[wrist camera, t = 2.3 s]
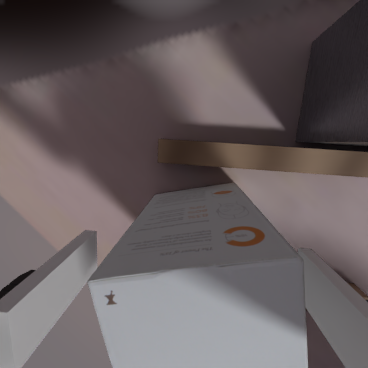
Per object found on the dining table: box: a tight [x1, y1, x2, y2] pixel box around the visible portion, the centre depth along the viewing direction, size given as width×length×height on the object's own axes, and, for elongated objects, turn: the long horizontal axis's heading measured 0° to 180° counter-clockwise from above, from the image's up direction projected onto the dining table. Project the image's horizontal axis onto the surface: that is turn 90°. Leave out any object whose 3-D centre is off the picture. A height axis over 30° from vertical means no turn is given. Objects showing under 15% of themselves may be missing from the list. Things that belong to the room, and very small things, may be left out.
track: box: [158, 139, 368, 310], centre depth 19 cm, size 20×15×2 cm
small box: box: [87, 183, 308, 368], centre depth 14 cm, size 8×6×13 cm
